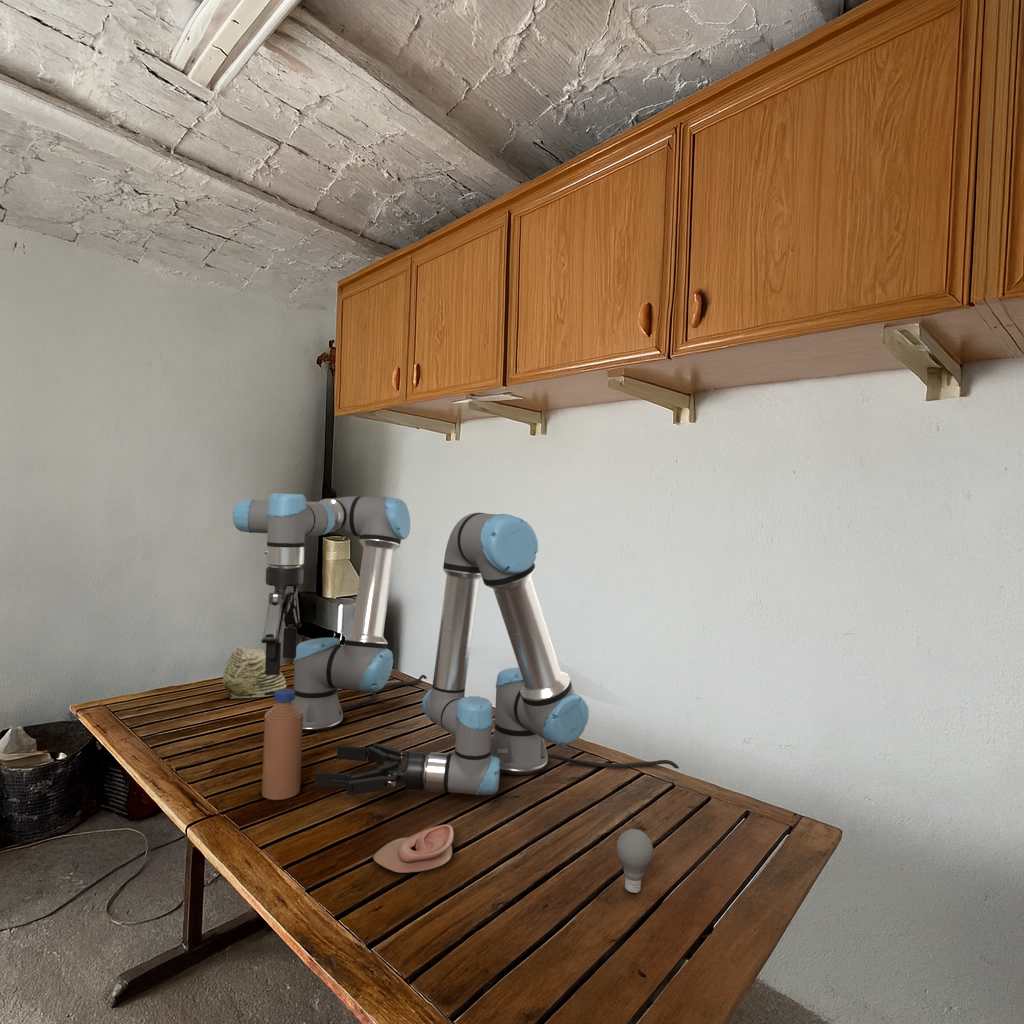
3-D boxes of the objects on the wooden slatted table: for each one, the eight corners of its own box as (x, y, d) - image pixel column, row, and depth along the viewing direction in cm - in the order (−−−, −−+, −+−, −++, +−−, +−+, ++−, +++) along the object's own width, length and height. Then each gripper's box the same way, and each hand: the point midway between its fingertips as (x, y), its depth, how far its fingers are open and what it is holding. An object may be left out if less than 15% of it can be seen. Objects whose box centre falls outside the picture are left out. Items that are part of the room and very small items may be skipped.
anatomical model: (366, 844, 109) (392, 812, 120) (365, 867, 109) (391, 833, 120) (440, 856, 106) (459, 823, 117) (439, 880, 106) (458, 844, 117)
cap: (286, 694, 138) (286, 687, 138) (299, 698, 136) (299, 690, 136) (269, 699, 134) (270, 691, 134) (283, 703, 132) (283, 695, 132)
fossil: (218, 695, 195) (220, 647, 195) (278, 685, 208) (279, 640, 207) (228, 703, 189) (230, 653, 188) (289, 692, 201) (290, 645, 201)
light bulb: (610, 879, 108) (613, 822, 108) (644, 879, 109) (647, 822, 109) (619, 902, 102) (622, 840, 102) (655, 901, 103) (658, 840, 103)
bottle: (284, 780, 141) (287, 685, 140) (308, 789, 137) (311, 692, 136) (253, 793, 134) (257, 693, 134) (277, 803, 130) (281, 701, 130)
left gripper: (282, 559, 146) (279, 650, 147) (247, 572, 122) (244, 682, 122) (315, 560, 147) (312, 651, 148) (288, 573, 122) (284, 682, 123)
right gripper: (413, 818, 121) (304, 811, 122) (435, 764, 146) (345, 758, 147) (415, 779, 121) (305, 772, 122) (437, 732, 146) (346, 726, 147)
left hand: (281, 665), depth 135 cm, fingers open, 13 cm apart
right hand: (327, 765), depth 134 cm, fingers open, 13 cm apart
